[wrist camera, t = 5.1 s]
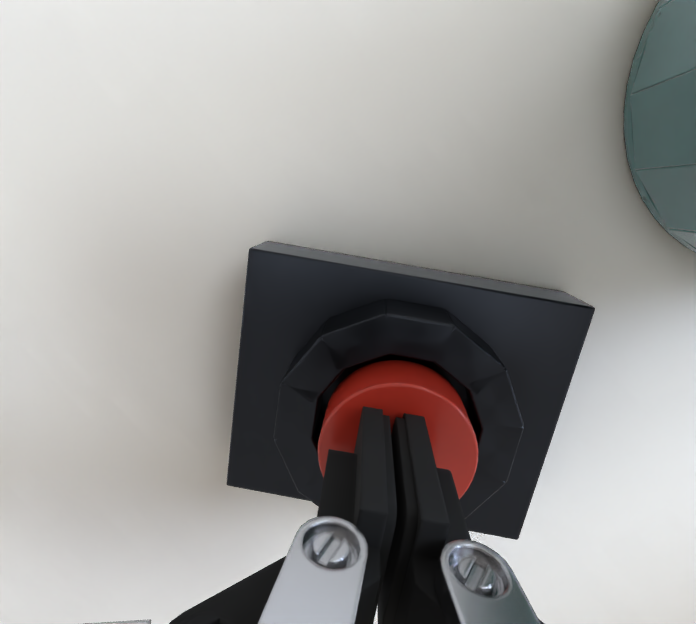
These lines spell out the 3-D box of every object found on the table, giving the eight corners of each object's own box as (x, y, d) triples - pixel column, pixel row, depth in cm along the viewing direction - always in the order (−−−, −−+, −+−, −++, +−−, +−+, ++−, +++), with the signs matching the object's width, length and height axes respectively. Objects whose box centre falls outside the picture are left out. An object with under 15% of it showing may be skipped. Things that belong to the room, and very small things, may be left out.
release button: (316, 471, 14) (307, 509, 12) (336, 346, 13) (329, 370, 11) (448, 495, 14) (458, 537, 12) (481, 372, 13) (497, 400, 11)
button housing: (243, 451, 18) (206, 521, 14) (266, 240, 16) (229, 255, 12) (502, 499, 18) (535, 584, 14) (566, 291, 15) (629, 325, 11)
